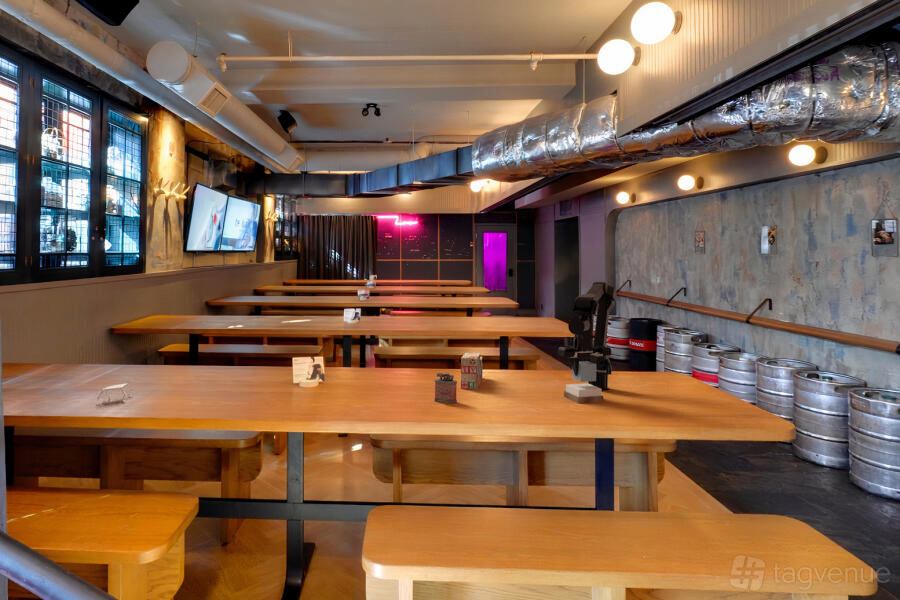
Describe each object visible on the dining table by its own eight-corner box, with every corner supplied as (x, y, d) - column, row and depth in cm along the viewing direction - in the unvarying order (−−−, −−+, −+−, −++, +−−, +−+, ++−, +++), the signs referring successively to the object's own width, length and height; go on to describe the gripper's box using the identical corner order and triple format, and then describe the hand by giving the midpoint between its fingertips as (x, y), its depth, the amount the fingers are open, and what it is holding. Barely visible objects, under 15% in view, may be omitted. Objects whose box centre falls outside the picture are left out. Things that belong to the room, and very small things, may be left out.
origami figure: (120, 404, 178) (119, 390, 178) (95, 404, 178) (95, 389, 178) (142, 395, 190) (141, 382, 190) (118, 395, 190) (118, 381, 190)
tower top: (587, 390, 197) (588, 383, 197) (601, 395, 189) (601, 388, 189) (565, 391, 195) (566, 384, 195) (578, 397, 186) (578, 390, 186)
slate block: (587, 377, 195) (587, 361, 195) (595, 380, 189) (596, 364, 189) (572, 378, 193) (572, 361, 193) (580, 381, 188) (581, 364, 187)
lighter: (458, 401, 186) (458, 373, 186) (454, 403, 183) (455, 374, 182) (436, 399, 189) (436, 371, 188) (432, 401, 186) (433, 373, 185)
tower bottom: (588, 396, 198) (588, 389, 198) (603, 403, 188) (603, 396, 188) (563, 398, 195) (564, 391, 195) (577, 404, 186) (577, 397, 185)
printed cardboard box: (467, 377, 227) (468, 348, 226) (482, 378, 226) (483, 349, 225) (460, 389, 206) (460, 357, 205) (476, 389, 205) (477, 357, 204)
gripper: (596, 328, 201) (595, 369, 202) (550, 329, 195) (549, 372, 196) (613, 332, 190) (611, 375, 191) (565, 333, 185) (564, 378, 186)
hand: (584, 375), depth 191 cm, fingers closed on slate block, 6 cm apart
